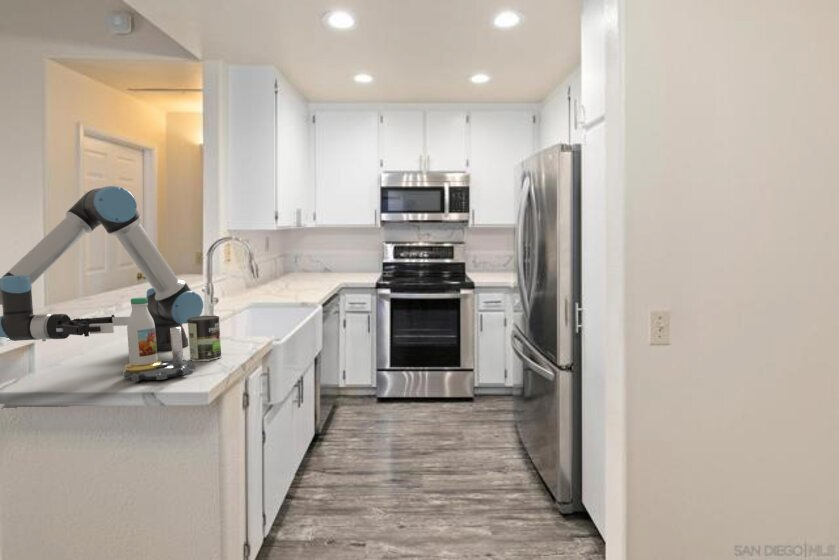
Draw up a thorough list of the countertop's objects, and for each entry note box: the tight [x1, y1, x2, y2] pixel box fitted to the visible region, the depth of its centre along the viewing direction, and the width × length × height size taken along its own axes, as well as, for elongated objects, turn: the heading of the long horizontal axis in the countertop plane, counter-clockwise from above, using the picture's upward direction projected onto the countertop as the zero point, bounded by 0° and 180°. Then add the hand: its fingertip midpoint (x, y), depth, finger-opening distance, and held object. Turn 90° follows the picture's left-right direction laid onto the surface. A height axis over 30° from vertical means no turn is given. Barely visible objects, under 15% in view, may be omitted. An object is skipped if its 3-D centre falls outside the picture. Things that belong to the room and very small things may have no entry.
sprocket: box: [123, 327, 196, 382], centre depth 180 cm, size 20×20×14 cm
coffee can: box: [187, 315, 223, 362], centre depth 202 cm, size 10×10×14 cm
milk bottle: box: [126, 296, 159, 366], centre depth 179 cm, size 8×8×20 cm
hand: (124, 324), depth 178 cm, fingers open, 13 cm apart
